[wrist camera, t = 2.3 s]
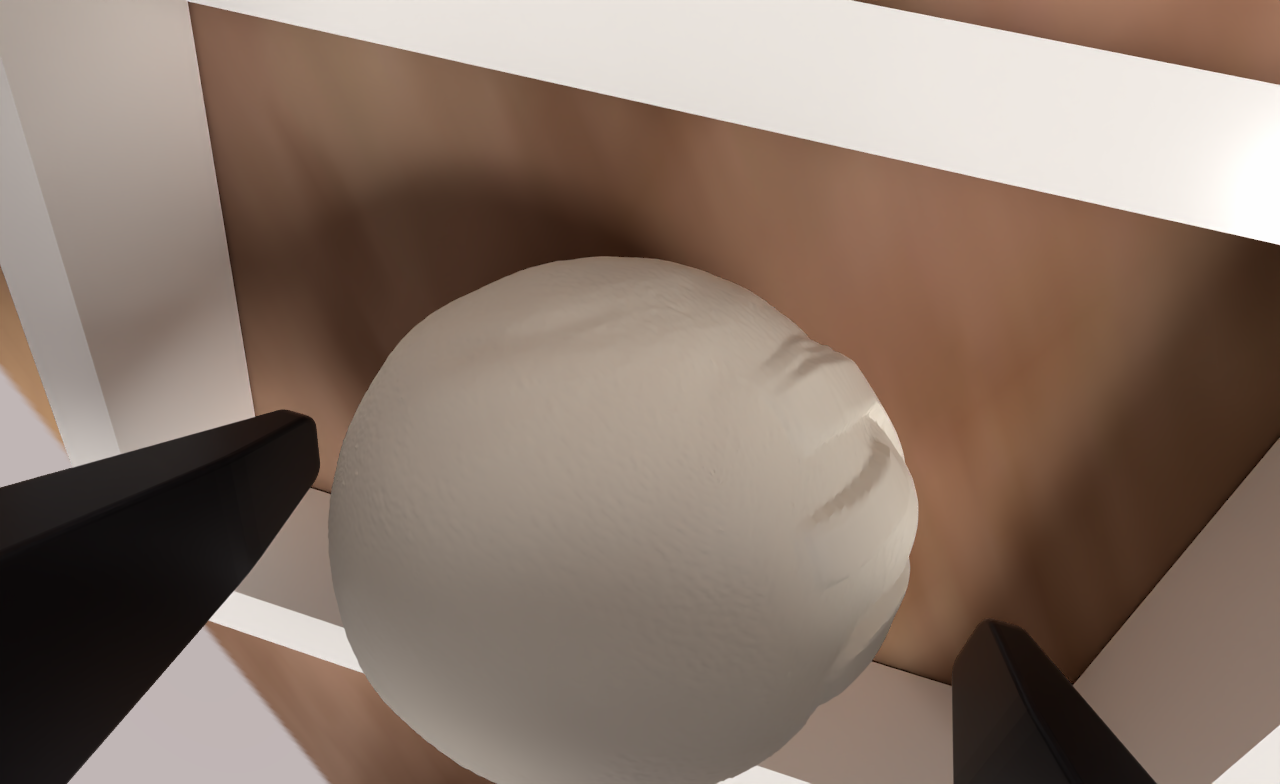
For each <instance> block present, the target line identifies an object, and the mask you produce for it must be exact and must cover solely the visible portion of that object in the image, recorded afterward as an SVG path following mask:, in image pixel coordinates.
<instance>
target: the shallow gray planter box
mask: <svg viewBox="0 0 1280 784" xmlns="http://www.w3.org/2000/svg"><path fill="white" fill-rule="evenodd" d="M188 1H189V2H193V3H198V4H202V5H207V6H211V7H216V8H220V9H225V10H229V11H234V12H238V13H243V14H247V15H252V16H256V17H260V18H265V19H269V20H274V21H278V22H283V23H287V24H292V25H296V26H301V27H305V28H310V29H314V30H319V31H323V32H328V33H332V34H337V35H341V36H346V37H350V38H355V39H359V40H364V41H368V42H373V43H377V44H382V45H386V46H391V47H395V48H399V49H404V50H408V51H413V52H417V53H422V54H426V55H431V56H435V57H440V58H444V59H449V60H453V61H458V62H462V63H467V64H471V65H476V66H480V67H485V68H489V69H494V70H498V71H503V72H507V73H512V74H516V75H521V76H525V77H529V78H534V79H538V80H543V81H547V82H552V83H556V84H561V85H565V86H570V87H574V88H579V89H583V90H588V91H592V92H597V93H601V94H606V95H610V96H615V97H619V98H624V99H628V100H633V101H637V102H642V103H646V104H651V105H655V106H660V107H664V108H668V109H673V110H677V111H682V112H686V113H691V114H695V115H700V116H704V117H709V118H713V119H718V120H722V121H727V122H731V123H736V124H740V125H745V126H749V127H754V128H758V129H763V130H767V131H772V132H776V133H781V134H785V135H790V136H794V137H799V138H803V139H807V140H812V141H816V142H821V143H825V144H830V145H834V146H839V147H843V148H848V149H852V150H857V151H861V152H866V153H870V154H875V155H879V156H884V157H888V158H893V159H897V160H902V161H906V162H911V163H915V164H920V165H924V166H929V167H933V168H938V169H942V170H946V171H951V172H955V173H960V174H964V175H969V176H973V177H978V178H982V179H987V180H991V181H996V182H1000V183H1005V184H1009V185H1014V186H1018V187H1023V188H1027V189H1032V190H1036V191H1041V192H1045V193H1050V194H1054V195H1059V196H1063V197H1068V198H1072V199H1077V200H1081V201H1085V202H1090V203H1094V204H1099V205H1103V206H1108V207H1112V208H1117V209H1121V210H1126V211H1130V212H1135V213H1139V214H1144V215H1148V216H1153V217H1157V218H1162V219H1166V220H1171V221H1175V222H1180V223H1184V224H1189V225H1193V226H1198V227H1202V228H1207V229H1211V230H1215V231H1220V232H1224V233H1229V234H1233V235H1238V236H1242V237H1247V238H1251V239H1256V240H1260V241H1265V242H1269V243H1274V244H1278V245H1280V85H1277V84H1272V83H1267V82H1262V81H1257V80H1252V79H1247V78H1241V77H1236V76H1231V75H1226V74H1221V73H1216V72H1211V71H1206V70H1201V69H1196V68H1191V67H1186V66H1181V65H1176V64H1171V63H1166V62H1161V61H1155V60H1150V59H1145V58H1140V57H1135V56H1130V55H1125V54H1120V53H1115V52H1110V51H1105V50H1100V49H1095V48H1090V47H1085V46H1080V45H1075V44H1069V43H1064V42H1059V41H1054V40H1049V39H1044V38H1039V37H1034V36H1029V35H1024V34H1019V33H1014V32H1009V31H1004V30H999V29H994V28H989V27H983V26H978V25H973V24H968V23H963V22H958V21H953V20H948V19H943V18H938V17H933V16H928V15H923V14H918V13H913V12H908V11H903V10H898V9H892V8H887V7H882V6H877V5H872V4H867V3H862V2H857V1H852V0H0V265H1V268H2V271H3V274H4V277H5V279H6V282H7V285H8V288H9V291H10V293H11V296H12V299H13V302H14V305H15V308H16V310H17V313H18V316H19V319H20V322H21V324H22V327H23V330H24V333H25V336H26V339H27V341H28V344H29V347H30V350H31V353H32V355H33V358H34V361H35V364H36V367H37V369H38V372H39V375H40V378H41V381H42V384H43V386H44V389H45V392H46V395H47V398H48V400H49V403H50V406H51V409H52V412H53V415H54V417H55V420H56V423H57V426H58V429H59V431H60V434H61V437H62V440H63V443H64V446H65V448H66V451H67V454H68V457H69V460H70V462H71V465H72V468H73V467H76V466H80V465H83V464H87V463H91V462H94V461H98V460H101V459H105V458H109V457H112V456H116V455H119V454H123V453H127V452H130V451H134V450H137V449H141V448H145V447H148V446H152V445H155V444H159V443H162V442H166V441H170V440H173V439H177V438H180V437H184V436H188V435H191V434H195V433H198V432H202V431H206V430H209V429H213V428H216V427H220V426H224V425H227V424H231V423H234V422H238V421H242V420H245V419H249V418H252V417H255V412H254V406H253V400H252V394H251V388H250V382H249V376H248V369H247V363H246V357H245V351H244V345H243V339H242V333H241V326H240V320H239V314H238V308H237V302H236V296H235V290H234V283H233V277H232V271H231V265H230V259H229V253H228V247H227V240H226V234H225V228H224V222H223V216H222V210H221V204H220V197H219V191H218V185H217V179H216V173H215V167H214V161H213V154H212V148H211V142H210V136H209V130H208V124H207V118H206V111H205V105H204V99H203V93H202V87H201V81H200V75H199V68H198V62H197V56H196V50H195V44H194V38H193V32H192V25H191V19H190V13H189V7H188ZM330 498H331V494H328V493H325V492H322V491H319V490H316V489H312V488H310V489H309V490H308V492H307V493H306V494H305V496H304V497H303V499H302V500H301V501H300V503H299V504H298V506H297V507H296V509H295V510H294V511H293V513H292V514H291V516H290V517H289V519H288V520H287V521H286V523H285V524H284V526H283V527H282V528H281V530H280V531H279V533H278V534H277V536H276V537H275V538H274V540H273V541H272V543H271V544H270V546H269V547H268V548H267V550H266V551H265V553H264V554H263V555H262V557H261V558H260V559H259V561H258V562H257V563H256V565H255V566H254V567H253V569H252V570H251V571H250V572H249V574H248V575H247V576H246V577H245V579H244V580H243V581H242V582H241V583H240V585H239V586H238V587H237V588H236V589H235V590H234V592H233V593H232V594H231V595H230V596H229V597H228V599H227V600H226V601H225V602H224V603H223V604H222V605H221V607H220V608H219V609H218V610H217V611H216V612H215V614H214V615H213V616H212V617H211V618H210V619H209V621H212V622H215V623H218V624H220V625H223V626H226V627H229V628H232V629H235V630H238V631H241V632H244V633H247V634H250V635H253V636H256V637H259V638H262V639H265V640H267V641H270V642H273V643H276V644H279V645H282V646H285V647H288V648H291V649H294V650H297V651H300V652H303V653H306V654H309V655H312V656H314V657H317V658H320V659H323V660H326V661H329V662H332V663H335V664H338V665H341V666H344V667H347V668H350V669H353V670H356V671H358V672H361V673H363V671H362V669H361V667H360V666H359V663H358V660H357V658H356V656H355V654H354V653H353V650H352V648H351V645H350V643H349V641H348V639H347V636H346V632H345V629H344V626H343V623H342V620H341V616H340V612H339V608H338V603H337V600H336V596H335V592H334V588H333V582H332V573H331V566H330V559H329V553H328V551H329V549H328V548H329V545H328V544H329V539H328V517H329V509H330ZM1073 686H1074V688H1075V689H1076V690H1077V691H1078V692H1079V693H1080V695H1081V696H1082V697H1083V698H1084V699H1085V700H1086V702H1087V703H1088V704H1089V705H1090V706H1091V707H1092V709H1093V710H1094V711H1095V712H1096V713H1097V714H1098V716H1099V717H1100V718H1101V719H1102V720H1103V721H1104V723H1105V724H1106V725H1107V726H1108V727H1109V728H1110V730H1111V731H1112V732H1113V733H1114V734H1115V735H1116V736H1117V738H1118V739H1119V740H1120V741H1121V742H1122V743H1123V745H1124V746H1125V747H1126V748H1127V749H1128V750H1129V752H1130V753H1131V754H1132V755H1133V756H1134V757H1135V759H1136V760H1137V761H1138V762H1139V763H1140V764H1141V766H1142V767H1143V768H1144V769H1145V770H1146V771H1147V773H1148V774H1149V775H1150V776H1151V777H1152V778H1153V779H1154V781H1155V782H1156V783H1157V784H1280V438H1279V439H1278V440H1277V441H1276V443H1275V444H1274V445H1273V446H1272V447H1271V449H1270V450H1269V451H1268V452H1267V453H1266V455H1265V456H1264V457H1263V458H1262V459H1261V461H1260V462H1259V463H1258V464H1257V465H1256V467H1255V468H1254V469H1253V470H1252V471H1251V473H1250V474H1249V475H1248V476H1247V477H1246V479H1245V480H1244V481H1243V482H1242V483H1241V484H1240V486H1239V487H1238V488H1237V489H1236V490H1235V492H1234V493H1233V494H1232V495H1231V496H1230V498H1229V499H1228V500H1227V501H1226V502H1225V504H1224V505H1223V506H1222V507H1221V508H1220V510H1219V511H1218V512H1217V513H1216V514H1215V516H1214V517H1213V518H1212V519H1211V520H1210V522H1209V523H1208V524H1207V525H1206V526H1205V528H1204V529H1203V530H1202V531H1201V532H1200V534H1199V535H1198V536H1197V537H1196V538H1195V540H1194V541H1193V542H1192V543H1191V544H1190V546H1189V547H1188V548H1187V549H1186V550H1185V552H1184V553H1183V554H1182V555H1181V556H1180V558H1179V559H1178V560H1177V561H1176V562H1175V564H1174V565H1173V566H1172V567H1171V568H1170V570H1169V571H1168V572H1167V573H1166V574H1165V576H1164V577H1163V578H1162V579H1161V580H1160V582H1159V583H1158V584H1157V585H1156V586H1155V588H1154V589H1153V590H1152V591H1151V592H1150V594H1149V595H1148V596H1147V597H1146V598H1145V600H1144V601H1143V602H1142V603H1141V604H1140V606H1139V607H1138V608H1137V609H1136V610H1135V612H1134V613H1133V614H1132V615H1131V616H1130V618H1129V619H1128V620H1127V621H1126V622H1125V624H1124V625H1123V626H1122V627H1121V628H1120V629H1119V631H1118V632H1117V633H1116V634H1115V635H1114V637H1113V638H1112V639H1111V640H1110V641H1109V643H1108V644H1107V645H1106V646H1105V647H1104V649H1103V650H1102V651H1101V652H1100V653H1099V655H1098V656H1097V657H1096V658H1095V659H1094V661H1093V662H1092V663H1091V664H1090V665H1089V667H1088V668H1087V669H1086V670H1085V671H1084V673H1083V674H1082V675H1081V676H1080V677H1079V679H1078V680H1077V681H1076V682H1075V683H1074V685H1073ZM716 784H953V729H952V686H950V685H946V684H943V683H940V682H937V681H933V680H930V679H927V678H924V677H920V676H917V675H914V674H911V673H907V672H904V671H901V670H898V669H895V668H891V667H888V666H885V665H882V664H878V663H875V662H872V661H871V663H870V664H869V665H868V666H867V668H866V669H865V670H864V671H863V672H862V673H861V674H860V676H859V677H858V678H857V679H856V680H855V681H854V682H853V683H852V684H850V685H849V686H848V687H847V688H846V689H845V690H844V691H843V692H842V693H841V694H839V695H838V696H836V697H834V698H832V699H831V700H829V701H828V702H826V703H824V704H822V705H819V706H818V707H817V708H816V710H815V711H814V712H813V714H812V715H811V716H810V718H809V719H808V721H807V722H806V725H804V726H803V728H802V729H801V730H800V731H799V732H798V733H797V734H796V735H795V736H794V737H793V738H792V739H791V740H789V741H788V742H787V744H786V745H784V746H783V747H782V748H781V749H780V750H779V751H777V752H775V753H774V754H773V755H772V756H771V757H768V758H767V759H766V760H765V761H762V762H761V763H760V764H758V765H756V766H755V767H752V768H751V769H749V770H747V771H746V772H743V773H742V774H739V775H738V776H735V777H734V778H728V779H726V780H725V781H720V782H719V783H716Z"/></svg>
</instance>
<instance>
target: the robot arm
mask: <svg viewBox="0 0 1280 784" xmlns="http://www.w3.org/2000/svg"><path fill="white" fill-rule="evenodd" d="M319 468H320V458H319V448H318V439H317V429H316V424H315V422H314V420H313V419H312V418H311V417H309V416H307V415H304V414H300V413H297V412H293V411H290V410H278V411H274V412H270V413H267V414H263V415H260V416H256V417H252V418H249V419H245V420H242V421H238V422H234V423H231V424H227V425H224V426H220V427H216V428H213V429H209V430H206V431H202V432H198V433H195V434H191V435H188V436H184V437H180V438H177V439H173V440H170V441H166V442H162V443H159V444H155V445H152V446H148V447H145V448H141V449H137V450H134V451H130V452H127V453H123V454H119V455H116V456H112V457H109V458H105V459H101V460H98V461H94V462H91V463H87V464H83V465H80V466H76V467H73V468H69V469H66V470H62V471H58V472H55V473H51V474H47V475H44V476H40V477H37V478H34V479H30V480H26V481H22V482H19V483H15V484H12V485H8V486H4V487H1V488H0V784H67V783H68V782H69V781H70V780H71V778H72V777H73V776H74V775H75V774H76V773H77V771H78V770H79V769H80V768H81V767H82V766H83V765H84V763H85V762H86V761H87V760H88V759H89V757H90V756H91V755H92V754H93V753H94V752H95V751H96V750H97V748H98V747H99V746H100V745H101V744H102V743H103V742H104V740H105V739H106V738H107V737H108V736H109V735H110V733H111V732H112V731H113V730H114V729H115V727H117V725H118V724H119V723H120V722H121V721H122V720H123V718H124V717H125V716H126V715H127V714H128V713H129V712H130V710H131V709H132V708H133V707H134V706H135V705H136V703H137V702H138V701H139V700H140V699H141V697H142V696H143V695H144V694H145V693H146V692H147V691H148V690H149V688H150V687H151V686H152V685H153V684H154V683H155V682H156V680H157V679H158V678H159V677H160V676H161V675H162V673H163V672H164V671H165V670H166V669H167V668H168V667H169V665H170V664H171V663H172V662H173V661H174V660H175V658H176V657H177V656H178V655H179V654H180V653H181V652H182V650H183V649H184V648H185V647H186V646H187V645H188V643H189V642H190V641H191V640H192V639H193V638H194V636H195V635H196V634H197V633H198V632H199V631H200V630H201V628H202V627H203V626H204V625H205V624H206V623H207V622H208V620H209V619H210V618H211V617H212V616H213V615H214V614H215V612H216V611H217V610H218V609H219V608H220V607H221V605H222V604H223V603H224V602H225V601H226V600H227V599H228V597H229V596H230V595H231V594H232V593H233V592H234V590H235V589H236V588H237V587H238V586H239V585H240V583H241V582H242V581H243V580H244V579H245V577H246V576H247V575H248V574H249V572H250V571H251V570H252V569H253V567H254V566H255V565H256V563H257V562H258V561H259V559H260V558H261V557H262V555H263V554H264V553H265V551H266V550H267V548H268V547H269V546H270V544H271V543H272V541H273V540H274V538H275V537H276V536H277V534H278V533H279V531H280V530H281V528H282V527H283V526H284V524H285V523H286V521H287V520H288V519H289V517H290V516H291V514H292V513H293V511H294V510H295V509H296V507H297V506H298V504H299V503H300V501H301V500H302V499H303V497H304V496H305V494H306V493H307V492H308V490H309V489H310V487H311V486H312V484H313V483H314V481H315V480H316V478H317V475H318V472H319ZM952 729H953V784H1157V783H1156V782H1155V781H1154V779H1153V778H1152V777H1151V776H1150V775H1149V774H1148V773H1147V771H1146V770H1145V769H1144V768H1143V767H1142V766H1141V764H1140V763H1139V762H1138V761H1137V760H1136V759H1135V757H1134V756H1133V755H1132V754H1131V753H1130V752H1129V750H1128V749H1127V748H1126V747H1125V746H1124V745H1123V743H1122V742H1121V741H1120V740H1119V739H1118V738H1117V736H1116V735H1115V734H1114V733H1113V732H1112V731H1111V730H1110V728H1109V727H1108V726H1107V725H1106V724H1105V723H1104V721H1103V720H1102V719H1101V718H1100V717H1099V716H1098V714H1097V713H1096V712H1095V711H1094V710H1093V709H1092V707H1091V706H1090V705H1089V704H1088V703H1087V702H1086V700H1085V699H1084V698H1083V697H1082V696H1081V695H1080V693H1079V692H1078V691H1077V690H1076V689H1075V688H1074V686H1073V685H1072V684H1071V683H1070V682H1069V681H1068V680H1067V678H1066V677H1065V676H1064V675H1063V674H1062V673H1061V671H1060V670H1059V669H1058V668H1057V667H1056V666H1055V664H1054V663H1053V662H1052V661H1051V660H1050V659H1049V657H1048V656H1047V655H1046V654H1045V653H1044V652H1043V650H1042V649H1041V648H1040V647H1039V646H1038V645H1037V643H1036V642H1035V641H1034V640H1033V639H1032V638H1031V636H1030V635H1029V634H1028V633H1027V632H1026V631H1025V630H1024V629H1022V628H1021V627H1019V626H1017V625H1014V624H1010V623H1007V622H1003V621H1000V620H997V619H993V618H986V619H984V620H982V621H981V622H980V623H979V625H978V626H977V627H976V629H975V630H974V632H973V634H972V635H971V637H970V638H969V640H968V641H967V643H966V644H965V646H964V647H963V649H962V650H961V652H960V653H959V655H958V656H957V658H956V660H955V663H954V666H953V671H952Z"/></svg>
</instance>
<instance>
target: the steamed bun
mask: <svg viewBox="0 0 1280 784" xmlns="http://www.w3.org/2000/svg"><path fill="white" fill-rule="evenodd" d="M917 525H918V499H917V494H916V490H915V485H914V482H913V478H912V476H911V474H910V471H909V469H908V467H907V466H906V464H905V459H904V454H903V450H902V447H901V443H900V441H899V438H898V435H897V433H896V431H895V429H894V426H893V424H892V423H891V421H890V419H889V417H888V415H887V413H886V411H885V410H884V408H883V406H882V405H881V403H880V401H879V399H878V398H877V396H876V394H875V393H874V391H873V390H872V388H871V386H870V385H869V383H868V382H867V380H866V378H865V377H864V375H863V374H862V372H861V371H860V369H859V368H858V366H857V365H856V364H855V362H854V361H853V360H851V359H850V358H848V357H846V356H845V355H843V354H842V353H840V352H836V351H833V350H832V349H831V348H830V347H829V346H827V345H821V344H819V343H818V342H815V341H813V340H811V339H809V337H808V336H807V334H805V333H804V332H803V330H802V329H800V328H799V327H798V326H797V325H796V324H795V323H794V322H792V321H791V320H790V319H789V318H787V317H786V316H785V315H783V314H781V313H780V312H779V311H778V310H776V309H775V307H773V306H771V305H770V304H768V303H767V301H765V300H763V299H761V298H760V297H759V296H758V295H756V294H754V293H753V292H751V291H750V290H748V289H746V288H743V287H741V286H740V285H738V284H735V283H733V282H731V281H728V280H726V279H722V278H721V277H716V276H715V275H713V274H710V273H709V272H705V271H704V270H699V269H696V268H694V267H689V266H686V265H682V264H679V263H675V262H671V261H664V260H660V259H651V258H638V257H634V258H632V257H616V256H615V257H610V256H599V257H588V258H586V257H585V258H579V259H573V260H564V261H555V262H550V263H546V264H542V265H539V266H535V267H531V268H527V269H525V270H521V271H518V272H516V273H514V274H512V275H509V276H506V277H504V278H501V279H500V280H497V281H495V282H492V283H490V284H488V285H486V286H484V287H481V288H480V289H478V290H476V291H473V292H471V293H469V294H467V295H465V296H463V297H460V298H458V299H456V300H454V301H452V302H450V303H449V304H447V305H445V306H443V307H441V308H440V309H438V310H437V311H435V312H433V313H432V314H430V315H429V316H427V317H426V318H425V319H424V320H423V321H421V322H420V323H418V324H417V325H416V326H415V327H414V328H413V329H411V331H410V332H408V334H407V335H406V336H405V337H404V338H402V339H401V341H400V342H399V344H398V345H397V346H396V347H395V348H394V350H393V351H392V352H391V353H390V355H389V356H388V357H387V360H386V361H385V363H384V364H383V366H382V367H381V369H380V371H378V374H377V375H376V376H375V378H374V379H373V381H372V383H371V384H370V387H369V389H368V390H367V391H366V393H365V395H364V397H363V399H362V401H361V403H360V404H359V405H358V409H357V410H356V413H355V414H354V417H353V419H352V421H351V424H350V425H349V427H348V431H347V433H346V437H345V438H344V440H343V445H342V447H341V451H340V454H339V459H338V462H337V468H336V472H335V477H334V482H333V486H332V491H331V498H330V509H329V517H328V539H329V544H328V545H329V548H328V549H329V551H328V553H329V559H330V566H331V573H332V582H333V588H334V592H335V596H336V600H337V603H338V608H339V612H340V616H341V620H342V623H343V626H344V629H345V632H346V636H347V639H348V641H349V643H350V645H351V648H352V650H353V653H354V654H355V656H356V658H357V660H358V663H359V666H360V667H361V669H362V671H363V673H364V674H365V675H366V677H367V679H368V681H369V682H370V683H371V685H372V686H373V687H374V690H375V691H376V692H377V693H378V694H379V696H380V697H381V698H382V700H383V701H384V702H385V703H386V704H387V705H388V706H389V707H390V708H391V709H392V710H393V711H394V712H395V714H397V715H398V716H399V717H400V718H401V719H402V720H403V721H405V722H406V723H407V724H408V725H409V726H410V727H411V728H412V729H413V730H415V732H416V733H418V734H419V735H421V736H422V738H424V739H425V740H426V741H427V742H428V743H430V744H432V745H433V746H434V747H436V748H437V749H438V750H439V751H440V752H442V753H443V754H445V755H446V756H448V757H449V758H451V759H452V760H453V761H454V762H456V763H458V764H459V765H460V766H462V767H463V768H466V769H469V770H471V771H472V772H474V773H475V774H477V775H479V776H482V777H484V778H486V779H488V780H490V781H491V782H495V783H497V784H716V783H719V782H720V781H725V780H726V779H728V778H734V777H735V776H738V775H739V774H742V773H743V772H746V771H747V770H749V769H751V768H752V767H755V766H756V765H758V764H760V763H761V762H762V761H765V760H766V759H767V758H768V757H771V756H772V755H773V754H774V753H775V752H777V751H779V750H780V749H781V748H782V747H783V746H784V745H786V744H787V742H788V741H789V740H791V739H792V738H793V737H794V736H795V735H796V734H797V733H798V732H799V731H800V730H801V729H802V728H803V726H804V725H806V722H807V721H808V719H809V718H810V716H811V715H812V714H813V712H814V711H815V710H816V708H817V707H818V706H819V705H822V704H824V703H826V702H828V701H829V700H831V699H832V698H834V697H836V696H838V695H839V694H841V693H842V692H843V691H844V690H845V689H846V688H847V687H848V686H849V685H850V684H852V683H853V682H854V681H855V680H856V679H857V678H858V677H859V676H860V674H861V673H862V672H863V671H864V670H865V669H866V668H867V666H868V665H869V664H870V663H871V661H872V660H873V658H874V657H875V655H876V653H877V652H878V650H879V649H880V647H881V645H882V643H883V641H884V640H885V637H886V635H887V633H888V631H889V629H890V627H891V624H892V621H893V619H894V617H895V614H896V612H897V610H898V609H899V607H900V604H901V602H902V600H903V598H904V596H905V593H906V590H907V586H908V582H909V576H910V561H909V555H910V552H911V549H912V546H913V542H914V539H915V535H916V530H917Z"/></svg>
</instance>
